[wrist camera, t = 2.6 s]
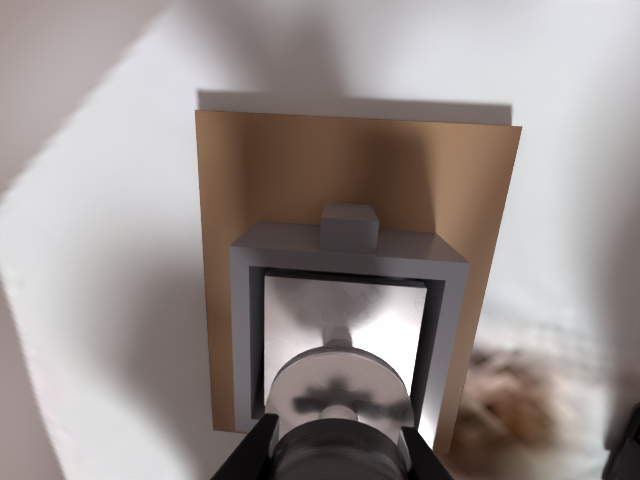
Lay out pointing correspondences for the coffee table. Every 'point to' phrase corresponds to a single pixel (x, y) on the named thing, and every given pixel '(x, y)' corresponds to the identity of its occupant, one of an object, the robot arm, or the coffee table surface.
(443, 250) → the press
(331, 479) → the plunger
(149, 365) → the coffee table surface
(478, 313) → the board
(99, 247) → the coffee table surface
